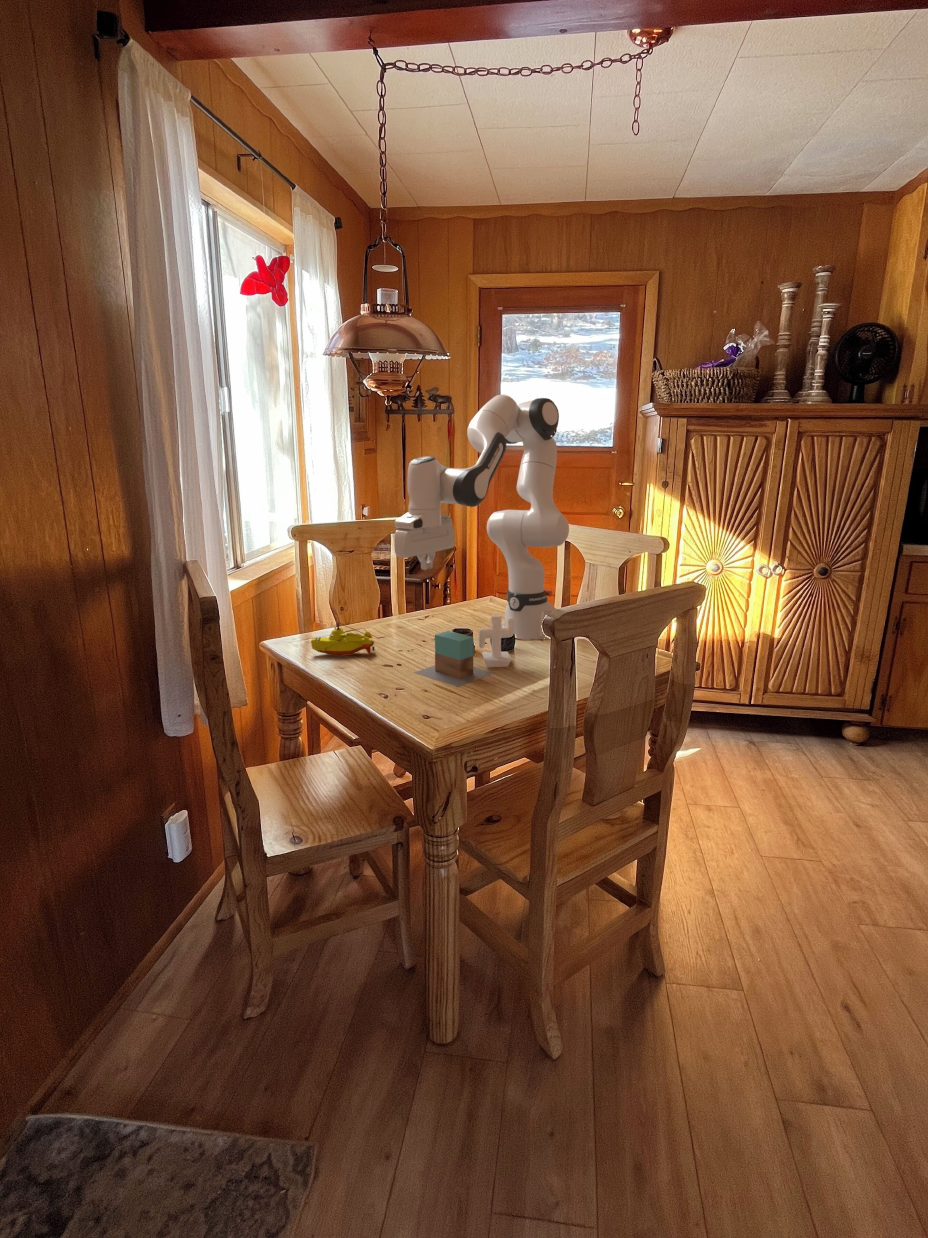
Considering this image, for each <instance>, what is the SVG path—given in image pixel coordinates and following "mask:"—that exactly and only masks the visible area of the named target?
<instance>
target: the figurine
mask: <svg viewBox="0 0 928 1238" xmlns="http://www.w3.org/2000/svg"><path fill="white" fill-rule="evenodd" d="M502 617H503V616H502V615H500V614H493V615H491V616H490V621H491V627H482V628H480V629H479V631H478V647H479V648H480V649H484V648H485V646H486V639H491V651H485V652H481V655H482V657H483V660H484V663H485V665H486V667H487V668H505V667H507V668H508V667H509V665H510V663H511V662H512V658H511V655H510V653H509V652H508V651H502V644H501V643H502V638H503V639H504V638H510V637H512V636H513V634H514V618H513V617H509V618H508V626H507V627H502V622H503V618H502Z"/></svg>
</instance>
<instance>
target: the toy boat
mask: <svg viewBox="0 0 928 1238" xmlns="http://www.w3.org/2000/svg"><path fill="white" fill-rule="evenodd" d="M339 625H342V626H344V627H347V628H349V629H351V630H354V631H356V632H358V633H361V634H363V635H361V634H358V633H352V632H350V633H349V632H347V631H346V630H344V629H343V628H341V627H340V626H339ZM346 632H347V633H346ZM373 638H374V637H373V635H372V634H371V632H370V631H365V633H364V632H362V631H359V630H357V629H354V628H353V627H350V626H348V625H346V624H344V623H340V622H339V621H337V626H334V629H333V630H331V632H330V634H329V636H328V637H326V636H324V637H323V636H322V637H320V636H319V637H314V638H311V640H310V644H311V649H312V650H314V651H316V652H318V653H321V654H326V655H329V656H334V657H335V656H351V655H354V654H355V653H357V652H360V651H362V650H366V652H367V654H368V655H371V654H372V653H371V650H372V652H374V651H375V650H376V649H375V645H374V644H375V640H373Z"/></svg>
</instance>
